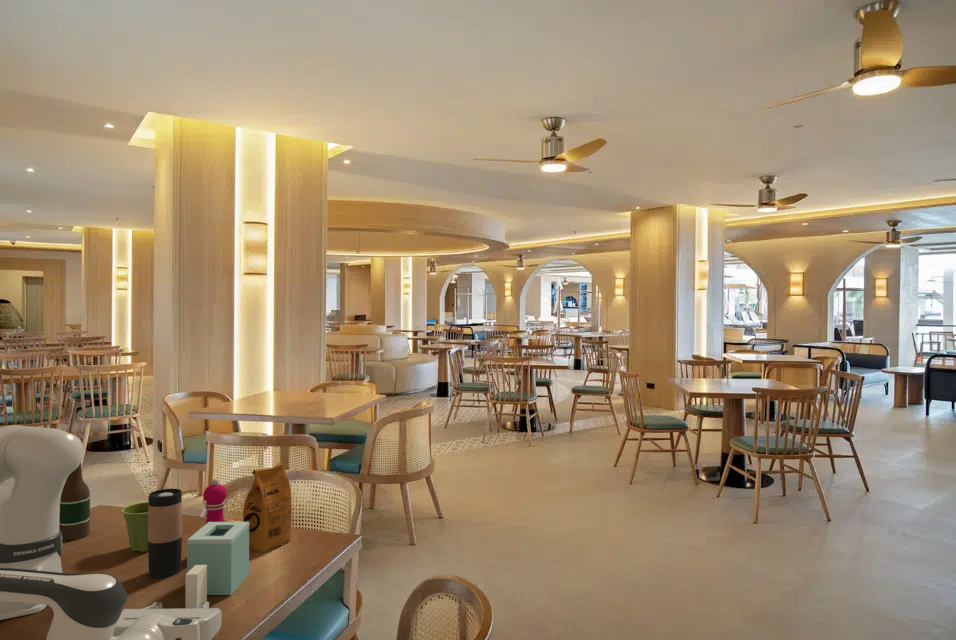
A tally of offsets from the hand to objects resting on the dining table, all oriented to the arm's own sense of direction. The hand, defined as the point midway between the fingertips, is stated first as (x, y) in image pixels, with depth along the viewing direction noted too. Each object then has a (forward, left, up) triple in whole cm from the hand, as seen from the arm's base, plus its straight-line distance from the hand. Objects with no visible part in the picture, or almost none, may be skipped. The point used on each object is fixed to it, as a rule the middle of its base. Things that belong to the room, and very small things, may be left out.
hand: (182, 605), depth 126 cm
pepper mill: (+20, +37, -5) cm, 42 cm away
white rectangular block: (+5, +6, -5) cm, 9 cm away
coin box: (+13, +16, -5) cm, 21 cm away
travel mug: (+6, +32, -5) cm, 33 cm away
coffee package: (+33, +33, -5) cm, 47 cm away
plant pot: (+7, +53, -5) cm, 54 cm away
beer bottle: (-6, +76, -5) cm, 76 cm away
